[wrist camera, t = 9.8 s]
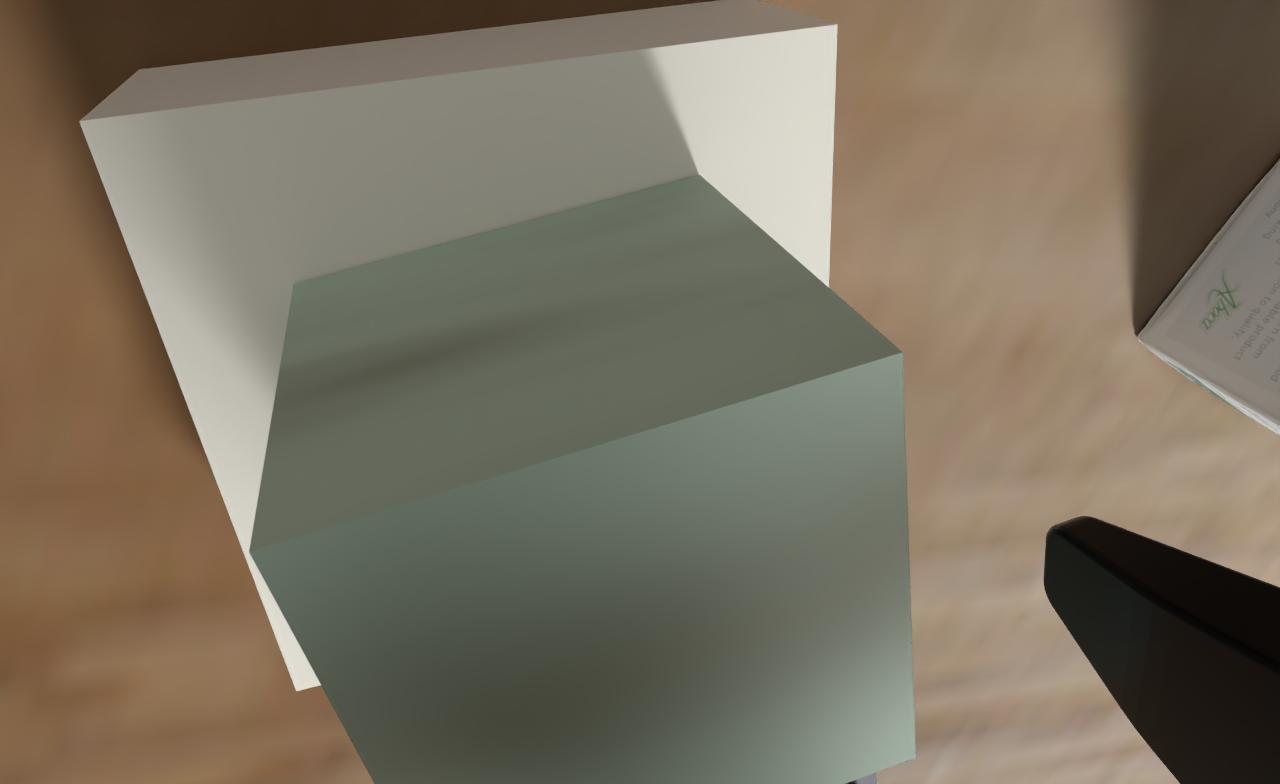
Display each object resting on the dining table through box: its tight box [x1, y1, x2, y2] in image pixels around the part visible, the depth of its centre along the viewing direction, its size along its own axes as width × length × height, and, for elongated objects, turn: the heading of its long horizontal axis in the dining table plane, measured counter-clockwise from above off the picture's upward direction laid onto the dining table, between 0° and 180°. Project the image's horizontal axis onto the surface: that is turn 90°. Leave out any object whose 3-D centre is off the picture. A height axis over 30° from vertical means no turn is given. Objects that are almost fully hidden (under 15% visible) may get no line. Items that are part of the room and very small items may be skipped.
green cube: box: [249, 175, 916, 784], centre depth 12 cm, size 6×6×6 cm
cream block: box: [79, 0, 837, 691], centre depth 16 cm, size 10×10×4 cm
